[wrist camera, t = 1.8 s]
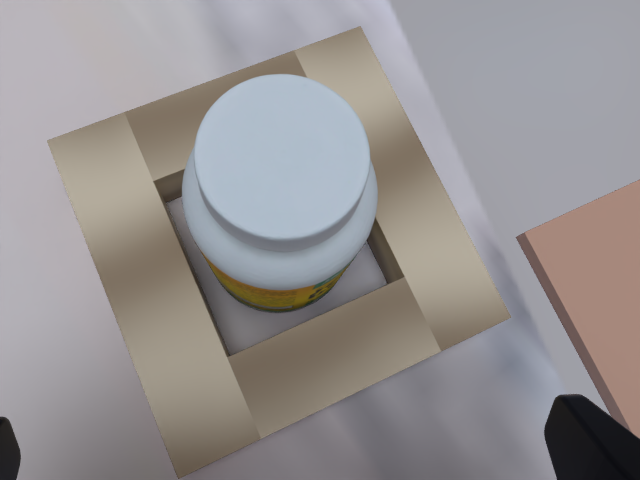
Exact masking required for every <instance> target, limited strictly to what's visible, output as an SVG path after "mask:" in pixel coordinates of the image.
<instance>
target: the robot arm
mask: <svg viewBox="0 0 640 480" xmlns="http://www.w3.org/2000/svg"><path fill="white" fill-rule="evenodd" d="M544 435H545V441H546V444H547V448H548V451H549V454H550V457H551V461H552V464H553V467H554V471H555V474H556V477H557V480H640V438H638V437H637V436H636V435H634V434H633V433H632V432H630V431H629V430H628V429H627V428H625V427H624V426H623V425H621V424H620V423H619V422H617V421H616V420H615V419H614V418H612V417H611V416H610V415H608V414H607V413H606V412H604V411H603V410H602V409H601V408H599V407H598V406H597V405H595V404H594V403H593V402H591V401H590V400H589V399H587V398H586V397H584V396H583V395H579V394H568V395H558V396H557V397H556V398H555V400H554V402H553V405H552V408H551V411H550V413H549V416H548V419H547V422H546V425H545V430H544ZM20 460H21V454H20V448H19V445H18V443H17V440H16V437H15V434H14V432H13V429H12V426H11V423H10V421H9V420H8V419H7V418H6V417H0V480H16V479H17V475H18V471H19V467H20Z"/></svg>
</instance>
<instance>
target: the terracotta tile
mask: <svg viewBox="0 0 640 480" xmlns="http://www.w3.org/2000/svg"><path fill="white" fill-rule="evenodd" d="M516 238H517V240H518V242H519V244H520V246H521V248H522V250H523V252H524V254H525V255H526V257H527V259H528V261H529V263H530V265H531V267H532V268H533V270H534V272H535V274H536V276H537V278H538V280H539V282H540V284H541V285H542V287H543V289H544V291H545V293H546V295H547V297H548V298H549V300H550V302H551V304H552V306H553V308H554V310H555V312H556V313H557V315H558V317H559V319H560V321H561V323H562V325H563V327H564V328H565V330H566V332H567V334H568V336H569V338H570V340H571V341H572V343H573V345H574V347H575V349H576V351H577V353H578V355H579V357H580V358H581V360H582V362H583V364H584V366H585V368H586V370H587V372H588V373H589V375H590V377H591V379H592V381H593V383H594V385H595V387H596V388H597V390H598V392H599V394H600V396H601V398H602V400H603V401H604V403H605V405H606V407H607V409H608V411H609V413H610V414H611V417H612V418H614V419H615V420H616V421H617V422H619V423H620V424H621V425H623V426H624V427H625V428H627V429H628V430H629V431H630V432H632V433H633V434H634V435H636V436H637V437H638V438H640V180H638V181H636V182H634V183H631V184H629V185H627V186H625V187H623V188H621V189H618V190H616V191H614V192H612V193H609V194H607V195H605V196H603V197H601V198H598V199H596V200H594V201H592V202H590V203H588V204H585V205H583V206H581V207H579V208H577V209H575V210H573V211H570V212H568V213H566V214H564V215H561V216H559V217H557V218H555V219H553V220H551V221H549V222H546V223H544V224H542V225H540V226H538V227H535V228H533V229H531V230H529V231H526V232H525V233H523V234H521V235H519V236H517V237H516Z"/></svg>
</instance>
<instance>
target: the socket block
mask: <svg viewBox="0 0 640 480" xmlns="http://www.w3.org/2000/svg"><path fill="white" fill-rule="evenodd" d="M272 74H291V75H297V76H302V77H306V78H309V79H312V80H315V81H317V82H320V83H321V84H323V85H325V86H327V87H329V88H330V89H332V90H333V91H335V92H336V93H338V94H339V95H340V96H341V97H342V98H344V99H345V100H346V101H347V102H348V103H349V105H350V106H351V107H352V108H353V109H354V111H355V112H356V113H357V115H358V117H359V119H360V120H361V122H362V124H363V126H364V129H365V132H366V134H367V138H368V142H369V148H370V159H371V162H372V165H373V168H374V171H375V175H376V180H377V188H378V202H377V211H376V215H375V220H374V223H373V226H372V228H371V231H370V234H369V237H368V238H367V241H368V243H369V245H370V247H371V250H372V252H373V254H374V256H375V258H376V260H377V262H378V264H379V266H380V268H381V270H382V272H383V274H384V276H385V279H386V281H387V283H388V285H386V286H383V287H381V288H379V289H377V290H375V291H372V292H370V293H368V294H366V295H364V296H361V297H359V298H357V299H355V300H353V301H350V302H348V303H346V304H344V305H342V306H339V307H337V308H335V309H333V310H331V311H328V312H326V313H324V314H322V315H320V316H317V317H315V318H313V319H311V320H309V321H306V322H304V323H302V324H300V325H298V326H295V327H293V328H291V329H289V330H287V331H284V332H282V333H280V334H278V335H276V336H273V337H271V338H269V339H267V340H265V341H262V342H260V343H258V344H256V345H254V346H251V347H249V348H247V349H245V350H243V351H240V352H238V353H236V354H234V355H232V356H230V354H229V352H228V349H227V347H226V345H225V342H224V340H223V337H222V335H221V333H220V330H219V328H218V326H217V323H216V321H215V318H214V316H213V314H212V311H211V309H210V306H209V304H208V302H207V299H206V297H205V295H204V292H203V290H202V287H201V285H200V283H199V280H198V278H197V276H196V273H195V271H194V268H193V266H192V264H191V261H190V259H189V257H188V254H187V252H186V249H185V247H184V245H183V242H182V240H181V238H180V235H179V233H178V230H177V228H176V226H175V223H174V221H173V219H172V216H171V214H170V211H169V209H168V207H167V204H166V202H168V201H171V200H173V199H176V198H178V197H181V196H182V182H183V175H184V171H185V167H186V164H187V161H188V158H189V156H190V154H191V152H192V149H193V148H194V144H195V140H196V135H197V132H198V129H199V127H200V124H201V122H202V120H203V118H204V116H205V114H206V113H207V112H208V110H209V109H210V107H211V106H212V105H213V104H214V103H215V102H216V101H217V100H218V99H219V98H220V97H221V96H222V95H223V94H224V93H226V92H227V91H228V90H230V89H231V88H232V87H234V86H236V85H238V84H240V83H242V82H244V81H247V80H249V79H252V78H255V77H259V76H264V75H272ZM47 142H48V145H49V147H50V150H51V153H52V155H53V158H54V160H55V163H56V166H57V168H58V171H59V173H60V176H61V178H62V181H63V184H64V186H65V189H66V191H67V194H68V196H69V199H70V202H71V204H72V207H73V209H74V212H75V214H76V217H77V220H78V222H79V225H80V227H81V230H82V233H83V235H84V238H85V240H86V243H87V245H88V248H89V251H90V253H91V256H92V258H93V261H94V263H95V266H96V269H97V271H98V274H99V276H100V279H101V281H102V284H103V287H104V289H105V292H106V294H107V297H108V300H109V302H110V305H111V307H112V310H113V312H114V315H115V318H116V320H117V323H118V325H119V328H120V330H121V333H122V336H123V338H124V341H125V343H126V346H127V348H128V351H129V354H130V356H131V359H132V361H133V364H134V367H135V369H136V372H137V374H138V377H139V379H140V382H141V385H142V387H143V390H144V392H145V395H146V397H147V400H148V403H149V405H150V408H151V410H152V413H153V415H154V418H155V421H156V423H157V426H158V428H159V431H160V434H161V436H162V439H163V441H164V444H165V446H166V449H167V452H168V454H169V457H170V459H171V462H172V464H173V467H174V470H175V472H176V475H177V477H178V479H180V478H182V477H184V476H186V475H188V474H190V473H192V472H194V471H196V470H198V469H200V468H202V467H204V466H206V465H208V464H210V463H213V462H215V461H217V460H219V459H221V458H223V457H225V456H227V455H229V454H231V453H233V452H235V451H237V450H239V449H241V448H243V447H245V446H248V445H250V444H252V443H254V442H256V441H258V440H260V439H262V438H264V437H266V436H268V435H270V434H272V433H274V432H276V431H278V430H280V429H283V428H285V427H287V426H289V425H291V424H293V423H295V422H297V421H299V420H301V419H303V418H305V417H307V416H309V415H311V414H313V413H315V412H318V411H320V410H322V409H324V408H326V407H328V406H330V405H332V404H334V403H336V402H338V401H340V400H342V399H344V398H346V397H348V396H350V395H353V394H355V393H357V392H359V391H361V390H363V389H365V388H367V387H369V386H371V385H373V384H375V383H377V382H379V381H381V380H383V379H385V378H388V377H390V376H392V375H394V374H396V373H398V372H400V371H402V370H404V369H406V368H408V367H410V366H412V365H414V364H416V363H418V362H420V361H423V360H425V359H427V358H429V357H431V356H433V355H435V354H437V353H439V352H441V351H443V350H445V349H447V348H449V347H451V346H453V345H455V344H458V343H460V342H462V341H464V340H466V339H468V338H470V337H472V336H474V335H476V334H478V333H480V332H482V331H484V330H486V329H488V328H490V327H493V326H495V325H497V324H499V323H501V322H503V321H505V320H507V319H509V318H511V316H510V314H509V312H508V310H507V308H506V306H505V304H504V302H503V300H502V298H501V296H500V294H499V292H498V291H497V289H496V287H495V285H494V283H493V281H492V279H491V277H490V275H489V273H488V271H487V269H486V267H485V265H484V264H483V262H482V260H481V258H480V256H479V254H478V252H477V250H476V248H475V246H474V244H473V242H472V240H471V238H470V237H469V235H468V233H467V231H466V229H465V227H464V225H463V223H462V221H461V219H460V217H459V215H458V213H457V211H456V210H455V208H454V206H453V204H452V202H451V200H450V198H449V196H448V194H447V192H446V190H445V188H444V186H443V184H442V183H441V181H440V179H439V177H438V175H437V173H436V171H435V169H434V167H433V165H432V163H431V161H430V159H429V157H428V156H427V154H426V152H425V150H424V148H423V146H422V144H421V142H420V140H419V138H418V136H417V134H416V132H415V130H414V128H413V127H412V125H411V123H410V121H409V119H408V117H407V115H406V113H405V111H404V109H403V107H402V105H401V103H400V101H399V100H398V98H397V96H396V94H395V92H394V90H393V88H392V86H391V84H390V82H389V80H388V78H387V76H386V74H385V73H384V71H383V69H382V67H381V65H380V63H379V61H378V59H377V57H376V55H375V53H374V51H373V49H372V47H371V46H370V44H369V42H368V40H367V38H366V36H365V34H364V32H363V30H362V28H361V26H360V27H357V28H354V29H351V30H349V31H346V32H343V33H340V34H338V35H335V36H332V37H329V38H327V39H324V40H321V41H318V42H316V43H313V44H310V45H307V46H305V47H302V48H299V49H296V50H294V51H291V52H288V53H286V54H283V55H280V56H277V57H275V58H272V59H269V60H266V61H264V62H261V63H258V64H255V65H253V66H250V67H247V68H244V69H242V70H239V71H236V72H233V73H231V74H228V75H225V76H222V77H220V78H217V79H214V80H212V81H209V82H206V83H203V84H201V85H198V86H195V87H192V88H190V89H187V90H184V91H181V92H179V93H176V94H173V95H170V96H168V97H165V98H162V99H159V100H157V101H154V102H151V103H148V104H146V105H143V106H140V107H138V108H135V109H132V110H129V111H127V112H124V113H121V114H118V115H116V116H113V117H110V118H107V119H105V120H102V121H99V122H96V123H94V124H91V125H88V126H85V127H83V128H80V129H77V130H74V131H72V132H69V133H66V134H64V135H61V136H58V137H55V138H53V139H50V140H47Z"/></svg>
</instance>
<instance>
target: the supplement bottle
mask: <svg viewBox="0 0 640 480" xmlns="http://www.w3.org/2000/svg"><path fill="white" fill-rule="evenodd" d="M377 202H378V188H377V180H376V175H375V171H374V168H373V165H372V162H371V159H370V148H369V142H368V138H367V134H366V132H365V129H364V126H363V124H362V122H361V120H360V119H359V117H358V115H357V113H356V112H355V111H354V109H353V108H352V107H351V106H350V105H349V103H348V102H347V101H346V100H345V99H344V98H342V97H341V96H340V95H339V94H338V93H336V92H335V91H333V90H332V89H330V88H329V87H327V86H325V85H323V84H321V83H320V82H317V81H315V80H312V79H309V78H306V77H302V76H297V75H291V74H272V75H264V76H259V77H255V78H252V79H249V80H247V81H244V82H242V83H240V84H238V85H236V86H234V87H232V88H231V89H230V90H228V91H227V92H226V93H224V94H223V95H222V96H221V97H220V98H219V99H218V100H217V101H216V102H215V103H214V104H213V105H212V106H211V107H210V109H209V110H208V112H207V113H206V114H205V116H204V118H203V120H202V122H201V124H200V127H199V129H198V132H197V135H196V140H195V144H194V148H193V149H192V152H191V154H190V156H189V158H188V161H187V164H186V167H185V171H184V175H183V182H182V204H183V210H184V215H185V219H186V222H187V225H188V228H189V230H190V233H191V235H192V237H193V239H194V241H195V242H196V244H197V246H198V247H199V249H200V251H201V252H202V254H203V256H204V257H205V259H206V261H207V262H208V264H209V266H210V268H211V269H212V271H213V273H214V274H215V276H216V277H217V279H218V280H219V282H220V283H221V285H222V286H223V287H224V288H225V290H226V291H227V292H228V293H229V294H230V295H231V296H233V297H234V298H235V299H237V300H238V301H239V302H241V303H243V304H245V305H247V306H249V307H251V308H254V309H257V310H260V311H265V312H275V313H277V312H288V311H293V310H297V309H300V308H303V307H305V306H308V305H310V304H312V303H314V302H316V301H317V300H319V299H320V298H322V297H323V296H324V295H325V294H327V293H328V292H329V291H330V290H331V288H332V287H333V286H334V285H335V284H336V282H337V281H338V280H339V278H340V277H341V275H342V274H343V272H344V271H345V270H346V268H347V267H348V266H349V265H350V263H351V262H352V261H353V259H354V258H355V256H356V255H357V254H358V252H359V251H360V250H361V248H362V247H363V245H364V243H365V242H366V240H367V238H368V237H369V234H370V231H371V228H372V226H373V223H374V220H375V215H376V211H377Z"/></svg>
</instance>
